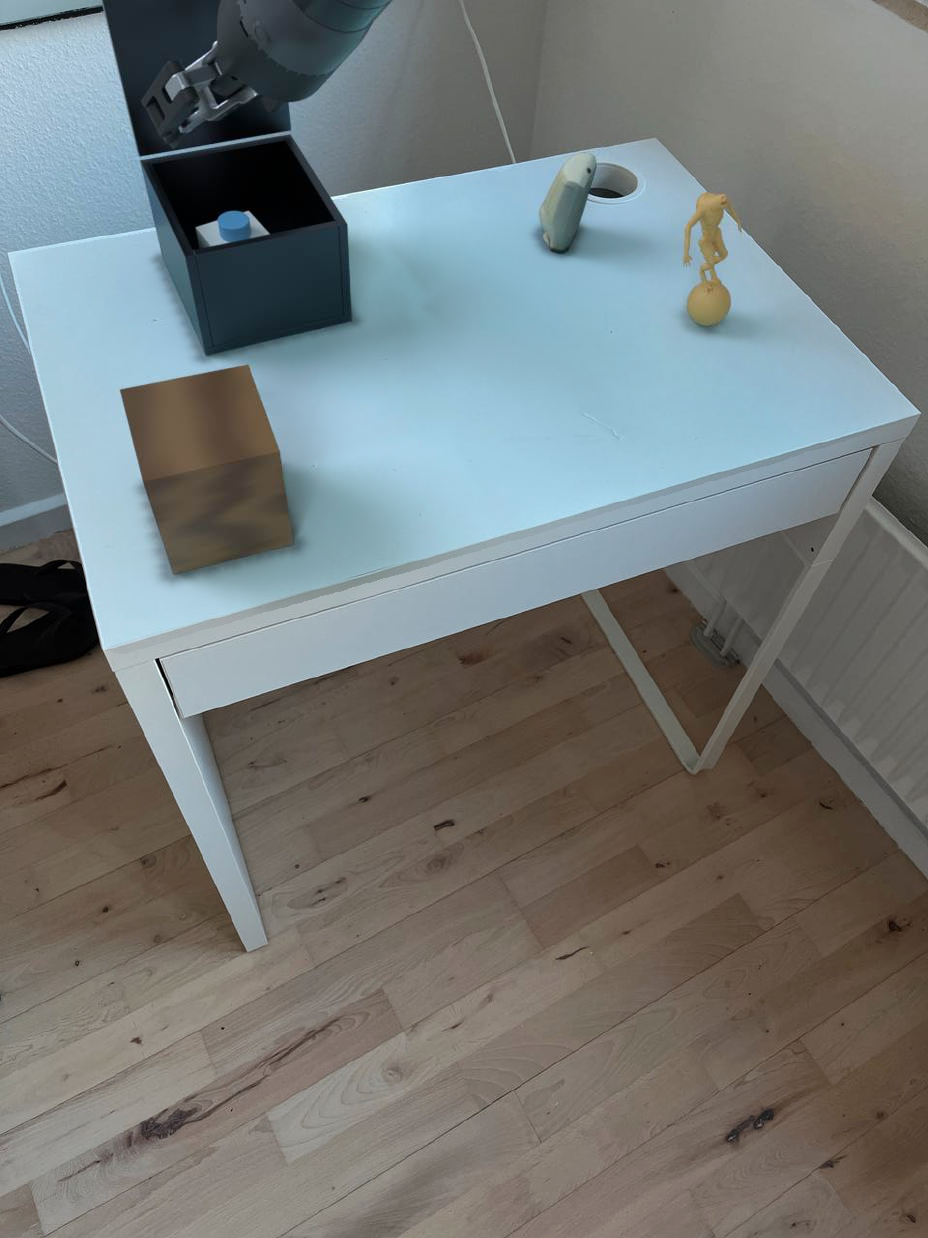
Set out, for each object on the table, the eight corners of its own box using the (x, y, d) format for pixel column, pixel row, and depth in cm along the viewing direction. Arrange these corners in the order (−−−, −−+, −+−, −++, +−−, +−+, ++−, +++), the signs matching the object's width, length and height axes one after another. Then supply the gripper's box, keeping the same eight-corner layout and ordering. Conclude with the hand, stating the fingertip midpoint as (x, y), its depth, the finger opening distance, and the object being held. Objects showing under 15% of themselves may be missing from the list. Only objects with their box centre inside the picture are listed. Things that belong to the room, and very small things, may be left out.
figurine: (693, 350, 86) (731, 232, 76) (642, 318, 88) (673, 199, 79) (745, 312, 90) (788, 195, 80) (695, 282, 92) (731, 165, 82)
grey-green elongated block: (596, 255, 94) (611, 179, 87) (546, 259, 93) (558, 183, 86) (578, 221, 97) (592, 145, 90) (530, 225, 96) (540, 149, 89)
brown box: (173, 574, 69) (142, 481, 60) (150, 487, 73) (119, 389, 65) (293, 545, 71) (280, 451, 63) (264, 461, 75) (248, 363, 67)
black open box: (352, 321, 86) (347, 223, 78) (205, 356, 82) (185, 257, 74) (299, 231, 93) (290, 133, 85) (162, 259, 89) (139, 159, 81)
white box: (234, 330, 83) (219, 244, 76) (209, 298, 85) (192, 212, 78) (284, 311, 85) (274, 226, 78) (258, 281, 87) (246, 195, 80)
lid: (271, -73, 72) (253, -93, 74) (89, -53, 68) (77, -75, 70) (291, 130, 84) (276, 107, 86) (139, 156, 80) (127, 132, 83)
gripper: (362, -87, 58) (271, 38, 72) (163, -32, 52) (105, 93, 66) (416, 39, 61) (318, 137, 74) (232, 105, 55) (162, 198, 68)
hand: (218, 116), depth 70 cm, fingers open, 8 cm apart
